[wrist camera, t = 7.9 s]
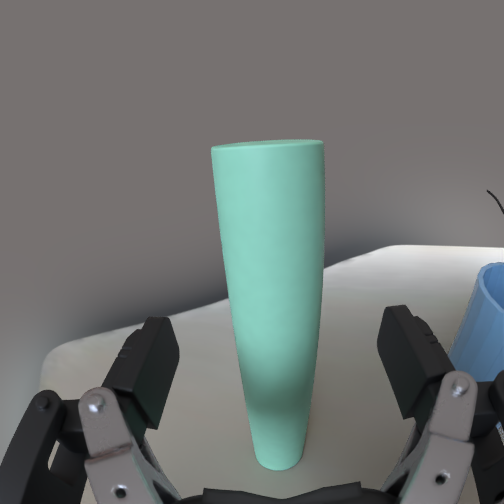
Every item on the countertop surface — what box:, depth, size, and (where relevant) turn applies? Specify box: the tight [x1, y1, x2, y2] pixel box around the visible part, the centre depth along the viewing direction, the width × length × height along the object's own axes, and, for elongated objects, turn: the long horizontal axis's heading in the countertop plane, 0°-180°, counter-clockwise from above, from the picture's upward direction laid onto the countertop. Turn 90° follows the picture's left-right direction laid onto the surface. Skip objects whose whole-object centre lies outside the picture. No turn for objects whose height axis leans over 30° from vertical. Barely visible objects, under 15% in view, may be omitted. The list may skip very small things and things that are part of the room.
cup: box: [447, 262, 504, 429], centre depth 11 cm, size 8×8×9 cm
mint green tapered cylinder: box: [211, 140, 325, 471], centre depth 10 cm, size 3×3×16 cm
